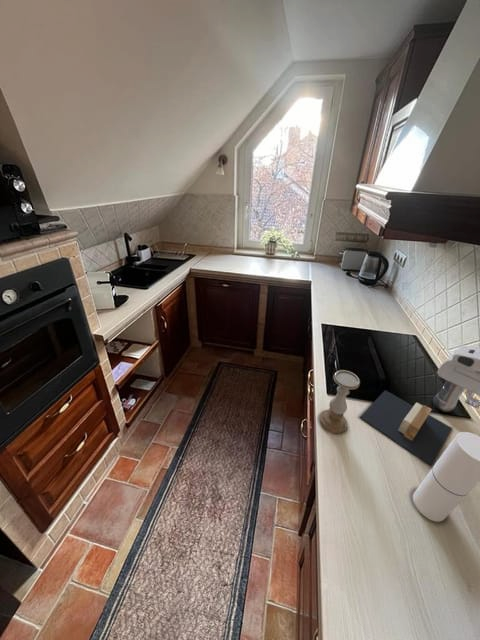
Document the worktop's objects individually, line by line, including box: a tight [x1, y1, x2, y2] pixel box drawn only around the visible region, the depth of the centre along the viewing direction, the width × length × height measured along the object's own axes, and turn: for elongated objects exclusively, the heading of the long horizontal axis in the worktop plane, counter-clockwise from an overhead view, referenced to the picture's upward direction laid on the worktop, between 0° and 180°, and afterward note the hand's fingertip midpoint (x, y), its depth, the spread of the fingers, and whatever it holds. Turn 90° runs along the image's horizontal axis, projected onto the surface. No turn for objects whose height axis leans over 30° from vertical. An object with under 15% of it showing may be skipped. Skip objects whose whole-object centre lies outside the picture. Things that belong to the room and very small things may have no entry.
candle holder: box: [319, 369, 361, 434], centre depth 82 cm, size 9×9×20 cm
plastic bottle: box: [432, 380, 466, 413], centre depth 88 cm, size 6×7×20 cm
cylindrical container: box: [412, 431, 480, 523], centre depth 59 cm, size 7×7×25 cm
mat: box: [359, 389, 452, 467], centre depth 87 cm, size 22×20×1 cm
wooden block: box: [398, 402, 433, 441], centre depth 84 cm, size 4×12×6 cm, turn 130°
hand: (471, 404), depth 70 cm, fingers closed
